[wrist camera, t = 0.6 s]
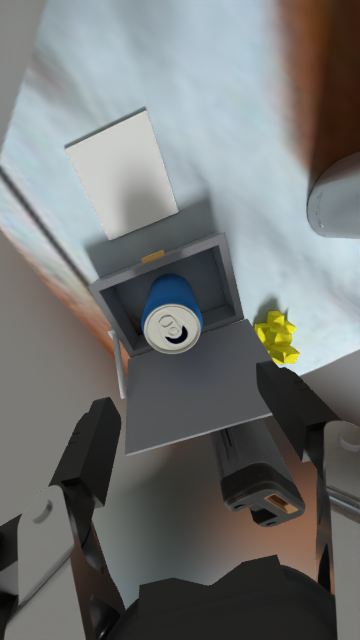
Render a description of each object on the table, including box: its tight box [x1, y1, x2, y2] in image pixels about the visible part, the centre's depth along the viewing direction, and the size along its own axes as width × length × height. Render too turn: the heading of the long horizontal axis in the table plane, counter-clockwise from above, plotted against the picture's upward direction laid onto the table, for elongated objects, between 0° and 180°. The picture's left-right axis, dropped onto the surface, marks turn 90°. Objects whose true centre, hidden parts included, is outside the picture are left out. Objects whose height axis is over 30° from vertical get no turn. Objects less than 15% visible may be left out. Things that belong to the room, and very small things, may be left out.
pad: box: [64, 110, 179, 241], centre depth 22 cm, size 10×10×1 cm
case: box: [88, 232, 275, 456], centre depth 23 cm, size 19×17×16 cm
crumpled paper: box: [254, 311, 300, 365], centre depth 30 cm, size 6×8×8 cm
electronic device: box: [210, 418, 305, 527], centre depth 28 cm, size 9×6×20 cm, turn 41°
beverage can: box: [141, 274, 203, 354], centre depth 24 cm, size 6×6×12 cm
